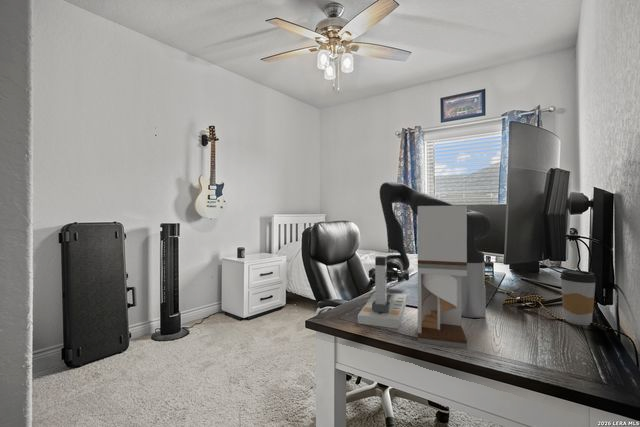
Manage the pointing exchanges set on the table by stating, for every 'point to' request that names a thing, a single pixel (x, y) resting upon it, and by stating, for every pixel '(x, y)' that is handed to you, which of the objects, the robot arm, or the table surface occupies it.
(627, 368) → the table surface
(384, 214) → the robot arm
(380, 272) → the fader
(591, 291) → the coffee cup
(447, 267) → the display case
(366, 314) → the console
